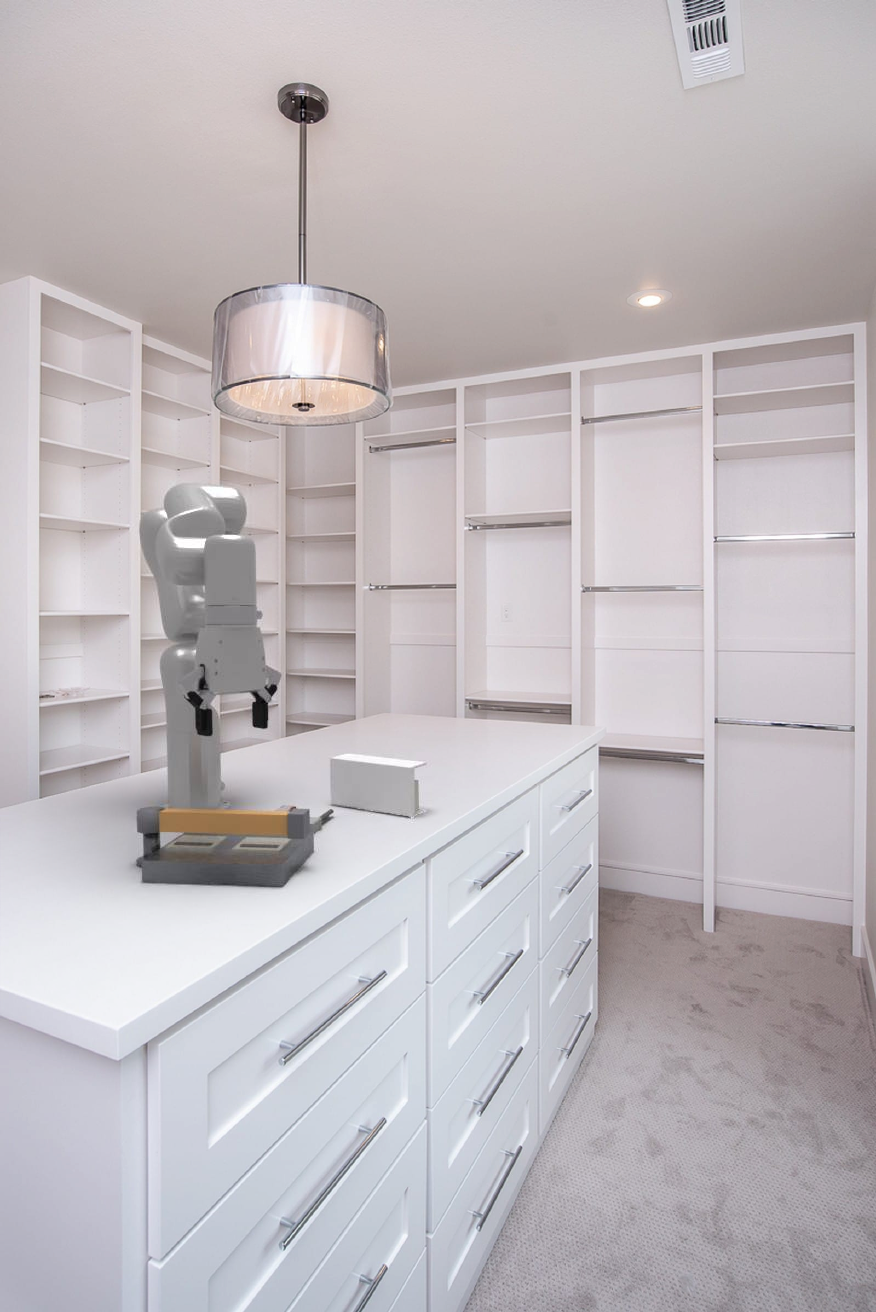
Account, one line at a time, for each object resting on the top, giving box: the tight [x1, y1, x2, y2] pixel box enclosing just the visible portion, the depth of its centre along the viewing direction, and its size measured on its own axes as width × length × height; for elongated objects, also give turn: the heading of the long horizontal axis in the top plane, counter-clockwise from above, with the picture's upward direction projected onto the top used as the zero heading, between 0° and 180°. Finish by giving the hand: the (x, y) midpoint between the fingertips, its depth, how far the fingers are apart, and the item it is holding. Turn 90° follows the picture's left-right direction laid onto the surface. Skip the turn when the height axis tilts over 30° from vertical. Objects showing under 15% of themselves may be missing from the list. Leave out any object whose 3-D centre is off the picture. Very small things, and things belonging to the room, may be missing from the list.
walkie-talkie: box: [274, 805, 335, 834], centre depth 132 cm, size 9×4×20 cm
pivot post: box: [135, 832, 161, 868], centre depth 115 cm, size 4×4×4 cm
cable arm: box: [136, 805, 311, 839], centre depth 114 cm, size 26×4×4 cm, turn 84°
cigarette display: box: [329, 753, 428, 818], centre depth 147 cm, size 20×6×9 cm, turn 59°
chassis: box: [141, 832, 315, 888], centre depth 114 cm, size 16×20×4 cm
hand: (233, 731), depth 117 cm, fingers open, 9 cm apart
